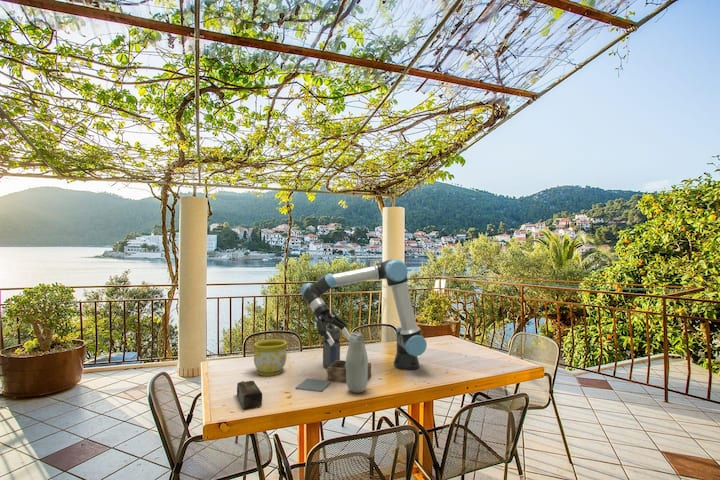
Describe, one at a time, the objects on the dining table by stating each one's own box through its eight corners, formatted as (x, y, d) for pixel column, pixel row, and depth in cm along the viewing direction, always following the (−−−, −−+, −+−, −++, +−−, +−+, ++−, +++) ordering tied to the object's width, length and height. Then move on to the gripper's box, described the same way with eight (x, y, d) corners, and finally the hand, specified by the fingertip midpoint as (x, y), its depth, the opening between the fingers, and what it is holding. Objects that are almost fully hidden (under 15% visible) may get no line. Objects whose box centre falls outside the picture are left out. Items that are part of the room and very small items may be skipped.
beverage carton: (253, 392, 167) (254, 378, 167) (262, 407, 150) (263, 391, 150) (236, 395, 163) (236, 381, 164) (243, 411, 146) (243, 395, 147)
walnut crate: (371, 375, 190) (371, 362, 191) (364, 384, 177) (364, 370, 177) (336, 372, 196) (336, 359, 196) (327, 380, 182) (327, 367, 183)
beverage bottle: (337, 362, 215) (337, 321, 217) (341, 369, 202) (342, 325, 204) (320, 363, 212) (321, 322, 214) (324, 370, 200) (325, 326, 201)
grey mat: (332, 382, 181) (332, 380, 181) (321, 391, 167) (321, 390, 167) (307, 379, 184) (307, 378, 184) (295, 388, 171) (295, 387, 171)
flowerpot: (254, 368, 203) (255, 340, 204) (286, 366, 207) (286, 338, 208) (251, 378, 186) (252, 347, 186) (286, 376, 189) (286, 345, 190)
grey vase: (371, 391, 168) (371, 332, 170) (357, 397, 160) (357, 335, 162) (355, 386, 175) (356, 329, 176) (341, 392, 167) (342, 332, 169)
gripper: (331, 310, 195) (352, 341, 185) (298, 316, 175) (320, 351, 165) (338, 301, 192) (360, 332, 182) (306, 306, 172) (329, 341, 162)
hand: (341, 341), depth 174 cm, fingers open, 13 cm apart
